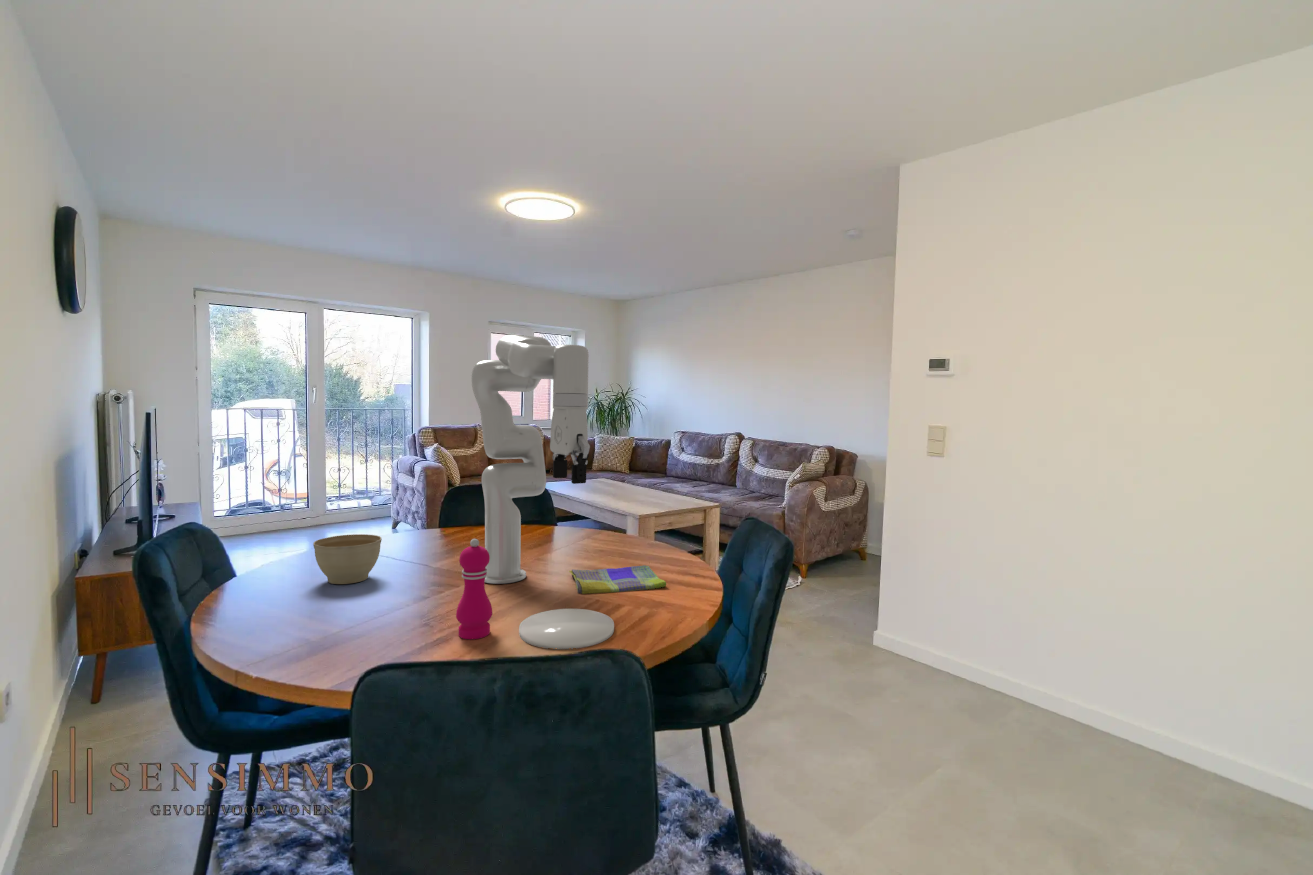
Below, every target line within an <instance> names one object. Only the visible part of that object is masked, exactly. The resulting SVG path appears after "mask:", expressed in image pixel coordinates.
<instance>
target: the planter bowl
mask: <svg viewBox="0 0 1313 875" xmlns="http://www.w3.org/2000/svg"><path fill="white" fill-rule="evenodd" d="M382 541H383V540H382V537H381V536H379V535H376V534H355V533H354V534H342V535H334V536H329V537H324V538H323V537H322V538H319V539H317V540H315V541H314V542H313V544H312V545H313V548H314V557H315V560H316V563H317V566H318V567H319V569H320V571H321V572H322V573H323V575H325V577H327V582H328V583H329V584H332V585H348V584H355V583H359V582H363V581H365V580H368V578H369V574H370V572H371V571H372V570H373V568H374V567H375V566H376V564H377V561H378V559H379V555H380V552H381V544H382Z"/></svg>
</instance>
